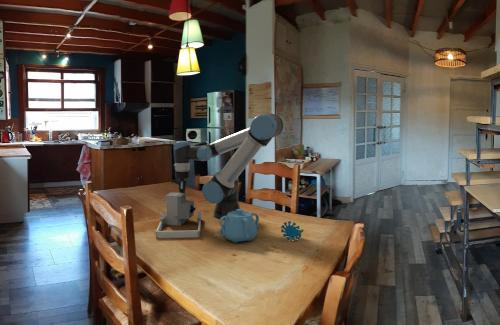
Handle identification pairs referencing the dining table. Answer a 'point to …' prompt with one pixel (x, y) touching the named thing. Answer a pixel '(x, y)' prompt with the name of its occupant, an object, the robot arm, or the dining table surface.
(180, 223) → the circuit breaker
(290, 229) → the teal spiky ornament
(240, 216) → the decorative pot
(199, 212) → the dark gray open bay
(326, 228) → the dining table surface
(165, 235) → the parts bay
